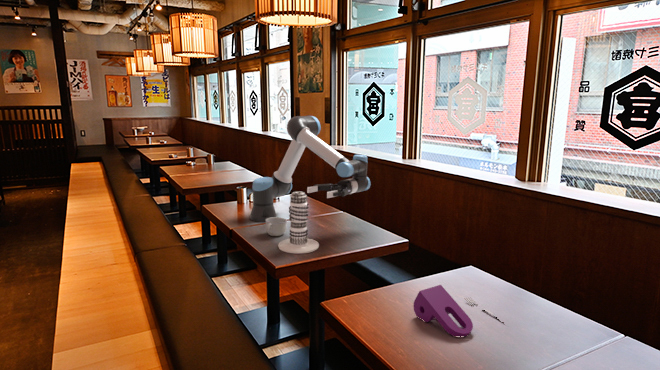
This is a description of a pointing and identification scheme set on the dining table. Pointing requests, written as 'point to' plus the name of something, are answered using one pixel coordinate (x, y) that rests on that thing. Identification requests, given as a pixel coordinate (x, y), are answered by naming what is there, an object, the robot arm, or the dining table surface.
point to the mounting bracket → (442, 310)
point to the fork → (474, 303)
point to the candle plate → (288, 248)
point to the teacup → (275, 226)
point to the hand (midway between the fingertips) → (317, 192)
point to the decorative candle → (298, 219)
